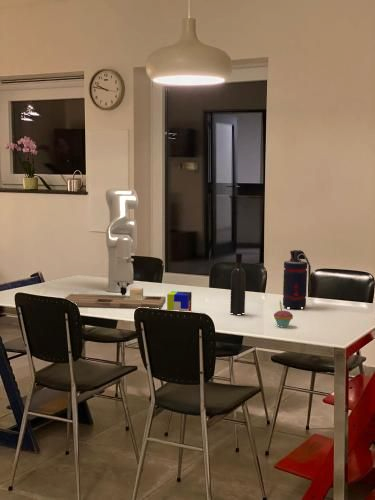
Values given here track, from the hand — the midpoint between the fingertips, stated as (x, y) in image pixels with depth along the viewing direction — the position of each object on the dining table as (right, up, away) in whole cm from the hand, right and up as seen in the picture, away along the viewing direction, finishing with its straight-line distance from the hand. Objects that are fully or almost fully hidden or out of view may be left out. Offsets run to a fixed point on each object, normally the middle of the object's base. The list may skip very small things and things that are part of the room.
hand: (123, 294), depth 357 cm
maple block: (+7, -2, -2) cm, 7 cm away
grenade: (+90, -7, -9) cm, 91 cm away
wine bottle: (+59, -8, -28) cm, 65 cm away
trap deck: (-4, -4, -5) cm, 8 cm away
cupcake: (+77, -11, -54) cm, 95 cm away
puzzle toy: (+30, -7, -28) cm, 41 cm away
